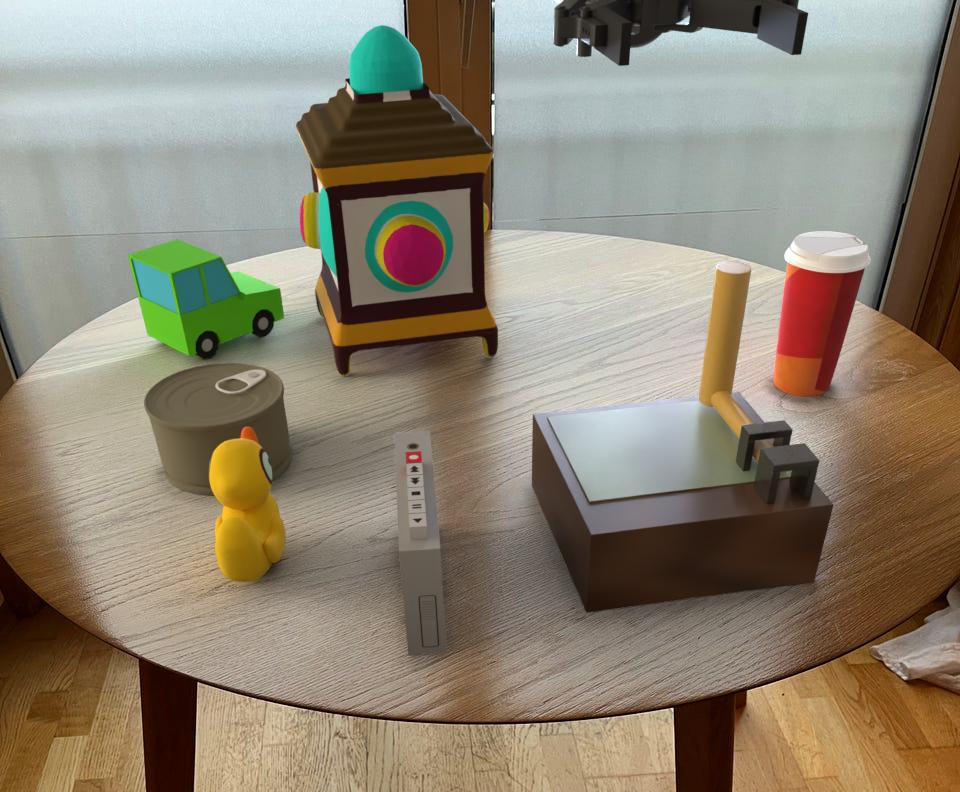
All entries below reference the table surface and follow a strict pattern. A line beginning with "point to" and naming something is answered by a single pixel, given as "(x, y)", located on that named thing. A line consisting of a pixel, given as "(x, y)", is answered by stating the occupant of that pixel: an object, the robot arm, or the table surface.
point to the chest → (676, 502)
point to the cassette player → (419, 544)
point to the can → (216, 418)
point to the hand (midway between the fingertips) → (714, 39)
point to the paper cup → (817, 308)
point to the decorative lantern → (395, 207)
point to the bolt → (726, 346)
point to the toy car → (200, 298)
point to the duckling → (245, 509)
